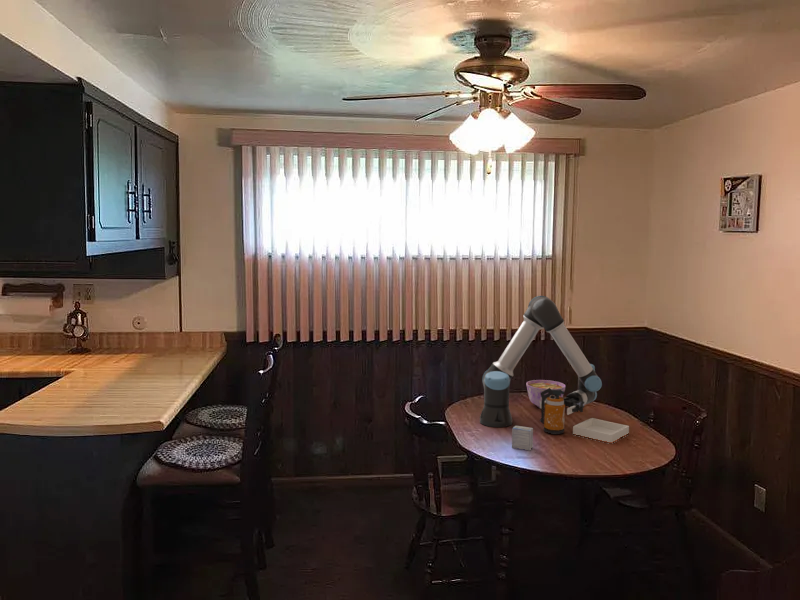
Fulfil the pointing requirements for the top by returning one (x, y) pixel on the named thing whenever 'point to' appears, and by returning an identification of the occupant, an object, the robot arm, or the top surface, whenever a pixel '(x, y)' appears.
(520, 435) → the medicine box
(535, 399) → the bowl of food
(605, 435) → the tray
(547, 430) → the canister
